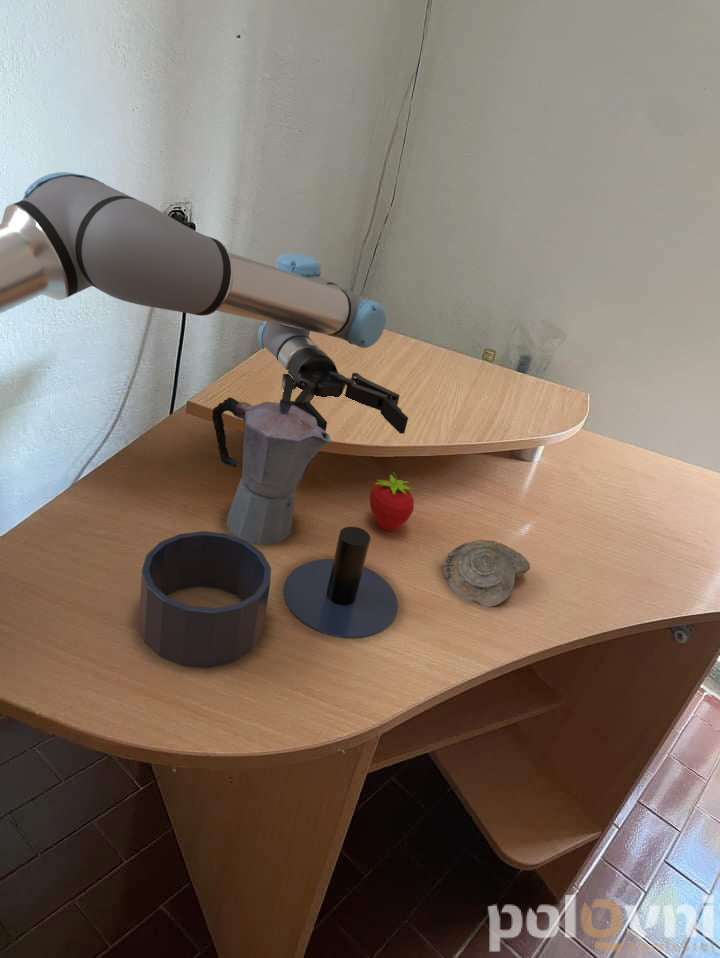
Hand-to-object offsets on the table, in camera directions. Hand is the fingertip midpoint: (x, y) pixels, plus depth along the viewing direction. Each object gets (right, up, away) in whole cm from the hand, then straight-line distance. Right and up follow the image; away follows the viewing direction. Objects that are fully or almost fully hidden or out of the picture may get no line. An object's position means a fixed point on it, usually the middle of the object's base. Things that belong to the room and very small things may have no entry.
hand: (365, 428), depth 102 cm
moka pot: (-15, -15, -8) cm, 22 cm away
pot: (-18, -24, -25) cm, 39 cm away
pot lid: (-3, -22, -17) cm, 28 cm away
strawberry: (+3, -15, -2) cm, 15 cm away
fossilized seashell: (+16, -22, -8) cm, 28 cm away
